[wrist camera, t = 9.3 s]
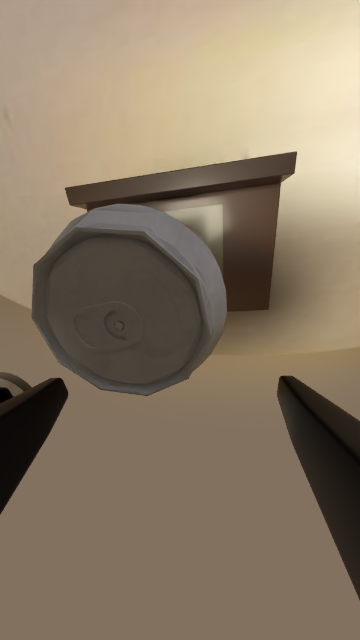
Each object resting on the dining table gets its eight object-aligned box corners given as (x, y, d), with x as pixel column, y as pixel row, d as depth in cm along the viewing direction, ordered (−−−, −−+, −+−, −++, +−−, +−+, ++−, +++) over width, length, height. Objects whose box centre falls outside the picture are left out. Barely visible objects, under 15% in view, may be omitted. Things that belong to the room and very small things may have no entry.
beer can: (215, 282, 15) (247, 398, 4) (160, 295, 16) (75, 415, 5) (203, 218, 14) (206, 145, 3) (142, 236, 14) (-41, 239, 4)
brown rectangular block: (259, 299, 19) (276, 319, 14) (125, 306, 21) (104, 326, 16) (268, 177, 15) (297, 150, 10) (102, 200, 17) (64, 187, 12)
